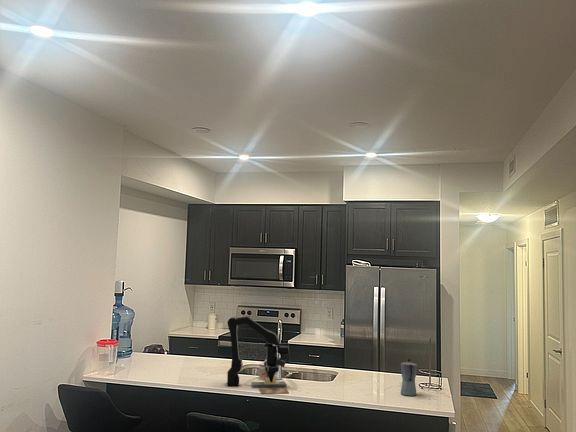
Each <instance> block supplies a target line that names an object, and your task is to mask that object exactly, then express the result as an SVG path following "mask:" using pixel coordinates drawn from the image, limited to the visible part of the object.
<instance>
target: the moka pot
mask: <svg viewBox="0 0 576 432" xmlns="http://www.w3.org/2000/svg"><path fill="white" fill-rule="evenodd" d="M417 368H418V364H417V363H414V362H411V359H410V358H409V359H408V358H407V361H405V362H404V361H403V362H401V363H400V370H401V371H400V372H401V377H402V382H401V387H400V388H401V389H400V395H403V396H411V397H414V396H417V388H416V376H417Z"/></svg>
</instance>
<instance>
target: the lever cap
mask: <svg viewBox="0 0 576 432" xmlns="http://www.w3.org/2000/svg"><path fill="white" fill-rule="evenodd" d="M276 381H277V376H276V375H274V377H273V381H272V382H270V379H269V376H265V380H264V382H266V384H272V383H276Z"/></svg>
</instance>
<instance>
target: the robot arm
mask: <svg viewBox="0 0 576 432" xmlns="http://www.w3.org/2000/svg"><path fill="white" fill-rule="evenodd" d="M245 324H246V325H248V326H249V327H250V328H252V329H253V330H255V331H256V332H257V333H259V334H260V335H261V336H263V338H264V339H265V341H266V342H265V344H263V346H264V347H266V355H265V357H266V359H267V361H265V360H264V361H265V362H264V361H263V362H264V366H266V367H265V370H266V373H267V376H269V379H270V382H272V381H273V377H274V376H275V375H274V374H275V373H276V372H277V373H278V372H279V370H280V369H279V368H280V367H282V368H285V366H286V363H287V361H285V360H283V357H280V356H279V358H278V356H277V353H278V355H281V356H283V355H284V356H289V355H290V353H289V352H290V347H289V346H290V344H289V342H285V343H284V342H282V343H281V342H280V340H279V339H278V335H277V334H276V332H274V331H271V330H269V329H267V328H265V327H264V326H262V325H261V324H259V323H258V322H257V321H255V320H254V319H252V318H251V317H250V316H247V315H246V316H241V317H235V316H233V317H229V319H228V320H227V326H228V331H229V334H230V344H231V357H232V359H231V367H230V368H229V369H228V370H227V372H226V373H227V376H226V379H227V380H226V386H227V387H239V385H240V376H239V372H240V371H242V367H243V366H244V363H243V358H240V353H239V351H240V350H239V339H238V328H239V325H245ZM279 366H280V367H279Z"/></svg>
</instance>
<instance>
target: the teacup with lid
mask: <svg viewBox="0 0 576 432" xmlns="http://www.w3.org/2000/svg"><path fill="white" fill-rule="evenodd" d="M265 361H267V358H266V359H265V360H264V361H262V362H260V363H259V374H258V375H259V376H258V377H259V379H260V380H264V381H265V376H267V373H266V370H265V367H266V366H264V362H265ZM277 373H278V372H276V373H275V374H274V376H276V375H277Z"/></svg>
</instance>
